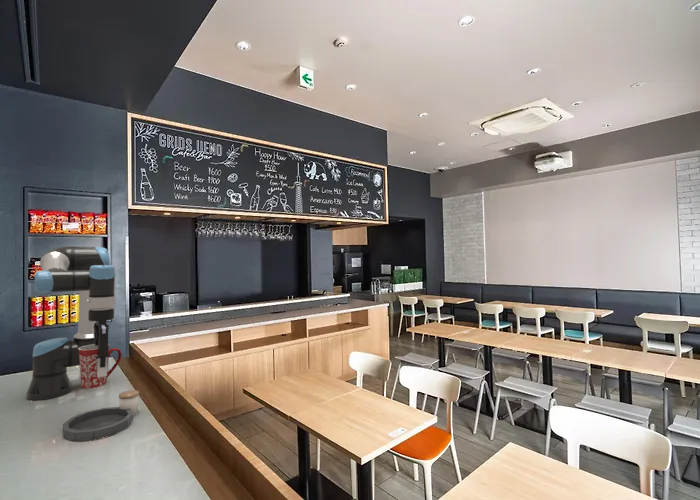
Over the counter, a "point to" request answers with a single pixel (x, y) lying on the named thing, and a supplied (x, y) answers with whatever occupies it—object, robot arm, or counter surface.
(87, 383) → the mug
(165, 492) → the counter surface
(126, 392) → the pot
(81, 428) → the tray
